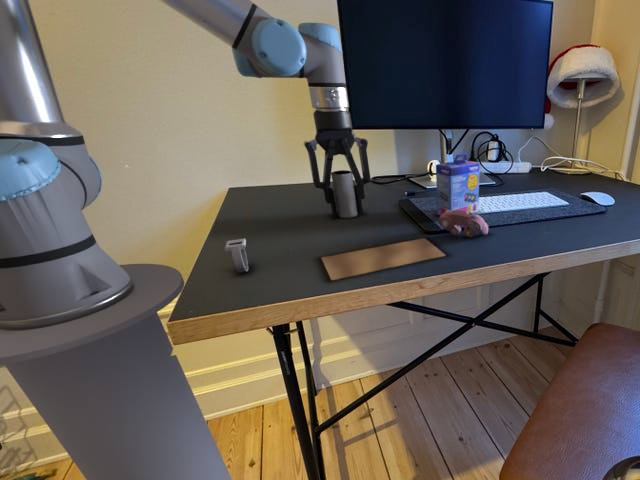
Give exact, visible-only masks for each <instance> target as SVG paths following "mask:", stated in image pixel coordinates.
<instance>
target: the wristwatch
mask: <svg viewBox="0 0 640 480" xmlns="http://www.w3.org/2000/svg"><path fill="white" fill-rule="evenodd" d="M246 246H247V239H246V238H238V239H231V240H227V241H226V243H225V246H224V250H225V252H230V255H231V259H232V262H233V266H234V269H235V271H236V272H237V273H238V274H241V273H242V274H243V273H248V271H249V261H248V255H247V252H246Z"/></svg>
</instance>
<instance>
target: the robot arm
mask: <svg viewBox="0 0 640 480" xmlns="http://www.w3.org/2000/svg"><path fill="white" fill-rule="evenodd" d="M159 1H160V2H161V3H163V4H164V5H166V6H167V7H169V8H171V9H172V10H173V11H175V12H176V13H178V14H180V15H181V16H182V17H184V18H186V19H188V20H189V21H191V22H192V23H194V24H196V25H197V26H199V27H200V28H201V29H203V30H204V31H207V32H208V33H209V34H211V35H212V36H214V37H215V38H217V39H218V40H220V41H222V42H223V43H224V44H226V45H228V46H230V48H231V51H232V56H233V61H234V63H235V67H236V69H237V72H238V73H239V74H240V75H241V76H242V77H245V78H247V77H248V78H256V79H262V78H264V79H265V78H266V79H269V78H270V79H271V78H273V79H274V78H275V79H295V78H296V79H306V82H307V86H308V91H309V98H310V103H311V108H312V109H315V110H313V111H314V112H313V113H312V115H313V121H314V127H315V136H314V138H313V139H311V140H308V141H307V140H305V141H304V142H303V146H304V148H305V150H306V152H307V154H308V160H309V166H310V172H311V177H312V184H313V186H314V187H315V188H316V189H321V190H323V197H324V200H325V202H326V204H330V207H331V214H332V217H334V219H336V218H339V216H338V211H337V205H336V199H335V193H334V188H333V187H331V181H332V175H331V173H332V169H333V161H334V157H336V156H338V155H341V156H344V157H345V160H346V162H347V165H348V167H349V170H350V171H351V172H352V176H353V180H354V181H355V184H354V190H355V197H356V204H357V211H358V215H362V214H364V211H363V204H362V200H365V199H366V195H365V185H367V184H369V183H371V182H372V179H371V171H370V166H369V164H370V163H369V158H368V151H367V149H368V146H369V145H368V144H369V141H368V140H367V138H363V137H361V138H360V137H358V136H356V134H355V133H354V130H353V125H352V124H353V123H352V115H351V112H350V111H349V110H348V109H349V108H350V103H349V95H348V89H347V83H346V82H347V81H346V74H345V66H344V58H343V57H344V56H343V50H342V44H341V38H340V36H339V35H340V33H339V31H338V29H337V28H336V27H335V26H333V25H331V24H328V23H325V22H324V23H323V22H300V23H299V24H298V27H297V28H296V27H295V26H294V25H293V24H290V23H289V22H288V21H285V20H284V19H283V20H282V19H280V18H275V17H273V16H272V15H271V14H270V13H268V12H267V11H265V10H264V9H263V8H261V7H260V6H258V5H256V4H255V3H254V1H252V0H159ZM34 16H35V15H34V13H33V10H32V7H31V3H30V0H0V329H3V330H28V329H36V328H42V327H48V326H52V325H57V324H61V323H65V322H69V321H72V320H76V319H79V318H82V317H85V316H88V315H91V314H93V313H96V312H99V311H101V310H103V309H106V308H108V307H110V306H112V305H114V304H116V303H117V302H119V301H121V300H122V299H124V298H125V297H127V296H128V295H129V294H130V293H131V292H132V290H133V289H134V285H133V282H132V280H131V278H130V276H129V275H128V274H127V273H126V272H125V271H124V270H123V269H122V268H121V267H120V266H119V265H120V264H118V263H117V261H115V260H114V259H113V258H112V257H111V256H110V255H109V254H108V253H107V252H106V251H104V249H102V247H100V245H99V244H98V241H97V240H96V238H95V236H94V233H93V232H92V230H91V227H90V225H89V224H88V221H87V219H86V217H85V215H84V212H83V211H84V209H87V207H89V206H90V205H92V204H93V203H94V202H95V200H97V198H98V197H99V195H100V193H101V190H102V187H103V177H102V173H101V169H100V168H99V165H98V164H97V162H96V161H95V160H94V158H93V157H91V155H90V154H89V151H88V148H87V144H86V141H85V137H84V135H83V132H81V130H79V129H78V128H76V127H75V126H72V125H71V124H69V122H68V121H66V119H65V115H64V112H63V109H62V105H61V101H60V99H59V95H58V92H57V89H56V85H55V82H54V79H53V75H52V72H51V69H50V66H49V63H48V59H47V56H46V53H45V49H44V47H43V42H42V40H41V36H40V33H39V29H38V27H37V26H38V25H37V22H36V20H35V17H34ZM355 144H356V147H357V148H358V154H359V160H360V167H361V174H362V176H361V174H360V171H359V169H358V167H357V164H356V162H355V159H354V156H353V152H352V151H351V150H352V148H353V146H354V145H355ZM317 145H319V146H320V148H321V149H322V150H324V162H323V163H324V164H323V175H322V181H321V178H320V171H319V165H318V160H317V154H316V151H317V150H318V149H317V148H318V147H317Z"/></svg>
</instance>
